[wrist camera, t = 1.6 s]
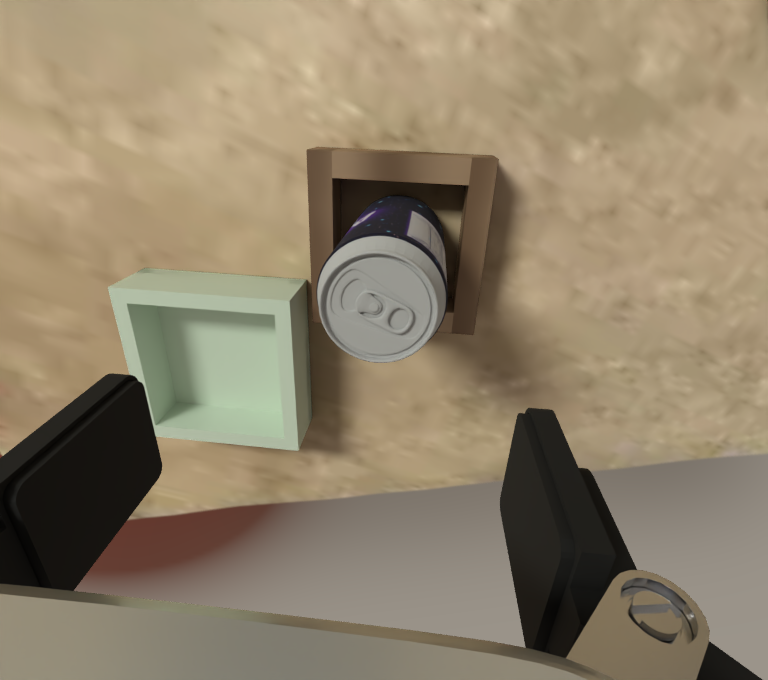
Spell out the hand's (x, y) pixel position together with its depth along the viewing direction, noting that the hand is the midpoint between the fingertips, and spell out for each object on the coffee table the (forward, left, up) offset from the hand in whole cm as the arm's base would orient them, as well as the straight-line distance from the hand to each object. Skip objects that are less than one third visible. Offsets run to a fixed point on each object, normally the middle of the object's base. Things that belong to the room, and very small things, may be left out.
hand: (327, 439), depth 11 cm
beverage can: (0, 0, -20) cm, 20 cm away
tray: (+12, +9, -20) cm, 25 cm away
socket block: (0, 0, -20) cm, 20 cm away
